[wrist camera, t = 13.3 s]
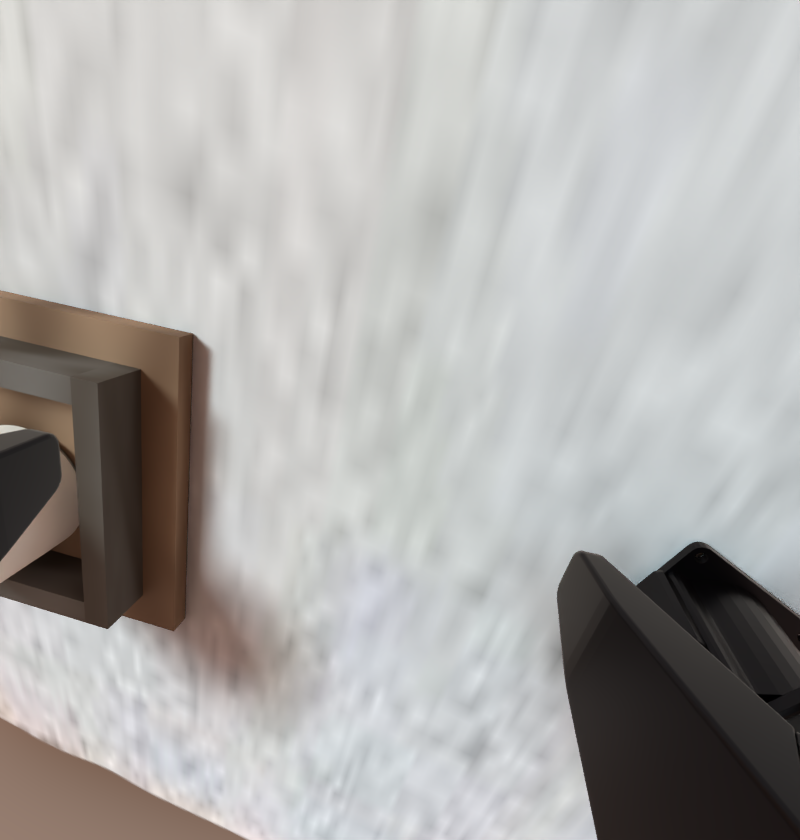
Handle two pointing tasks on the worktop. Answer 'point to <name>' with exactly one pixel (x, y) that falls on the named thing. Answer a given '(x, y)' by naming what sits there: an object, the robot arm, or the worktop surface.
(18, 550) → the can
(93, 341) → the socket
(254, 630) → the worktop surface
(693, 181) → the worktop surface
